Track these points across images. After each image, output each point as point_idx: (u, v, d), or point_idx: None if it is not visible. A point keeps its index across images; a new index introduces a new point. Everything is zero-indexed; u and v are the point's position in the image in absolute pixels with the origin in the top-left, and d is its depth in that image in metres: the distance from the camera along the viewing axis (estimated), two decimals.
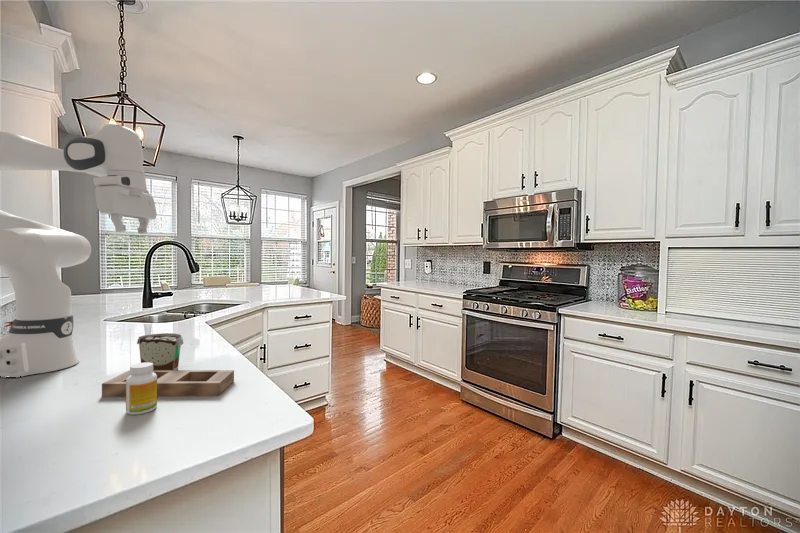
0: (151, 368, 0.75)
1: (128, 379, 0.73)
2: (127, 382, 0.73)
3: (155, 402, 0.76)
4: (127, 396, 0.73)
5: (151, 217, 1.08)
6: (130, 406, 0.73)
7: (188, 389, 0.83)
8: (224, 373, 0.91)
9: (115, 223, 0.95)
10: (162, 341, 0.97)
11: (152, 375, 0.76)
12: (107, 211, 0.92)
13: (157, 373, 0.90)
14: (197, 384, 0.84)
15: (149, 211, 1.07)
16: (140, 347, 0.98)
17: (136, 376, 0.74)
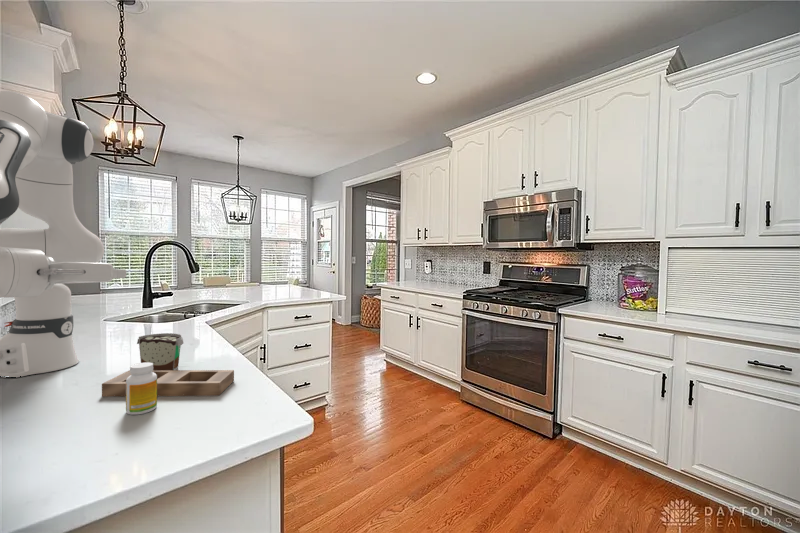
0: (151, 368, 0.75)
1: (128, 379, 0.73)
2: (127, 382, 0.73)
3: (155, 402, 0.76)
4: (127, 396, 0.73)
5: None
6: (130, 406, 0.73)
7: (188, 389, 0.83)
8: (224, 373, 0.91)
9: None
10: (162, 341, 0.97)
11: (152, 375, 0.76)
12: None
13: (157, 373, 0.90)
14: (197, 384, 0.84)
15: None
16: (140, 347, 0.98)
17: (136, 376, 0.74)
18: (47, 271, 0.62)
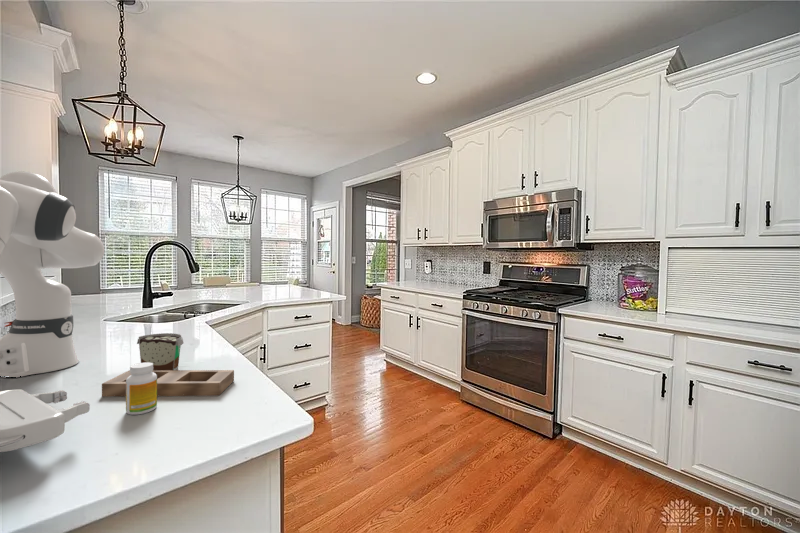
0: (151, 368, 0.75)
1: (128, 379, 0.73)
2: (127, 382, 0.73)
3: (155, 402, 0.76)
4: (127, 396, 0.73)
5: None
6: (130, 406, 0.73)
7: (188, 389, 0.83)
8: (224, 373, 0.91)
9: None
10: (162, 341, 0.97)
11: (152, 375, 0.76)
12: None
13: (157, 373, 0.90)
14: (197, 384, 0.84)
15: None
16: (140, 347, 0.98)
17: (136, 376, 0.74)
18: None
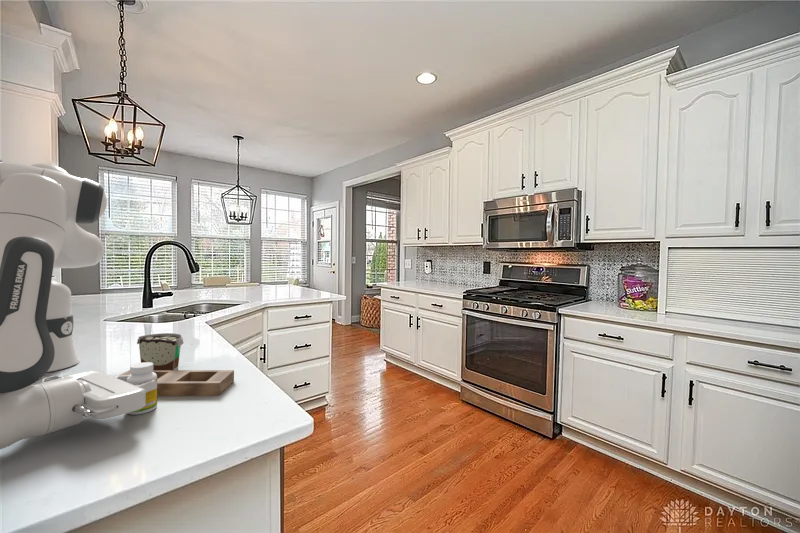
0: (151, 368, 0.75)
1: (128, 379, 0.73)
2: None
3: (155, 402, 0.76)
4: None
5: None
6: None
7: (188, 389, 0.83)
8: (224, 373, 0.91)
9: None
10: (162, 341, 0.97)
11: (153, 375, 0.76)
12: None
13: (157, 373, 0.90)
14: (197, 384, 0.84)
15: None
16: (140, 347, 0.98)
17: (136, 376, 0.74)
18: (81, 413, 0.61)
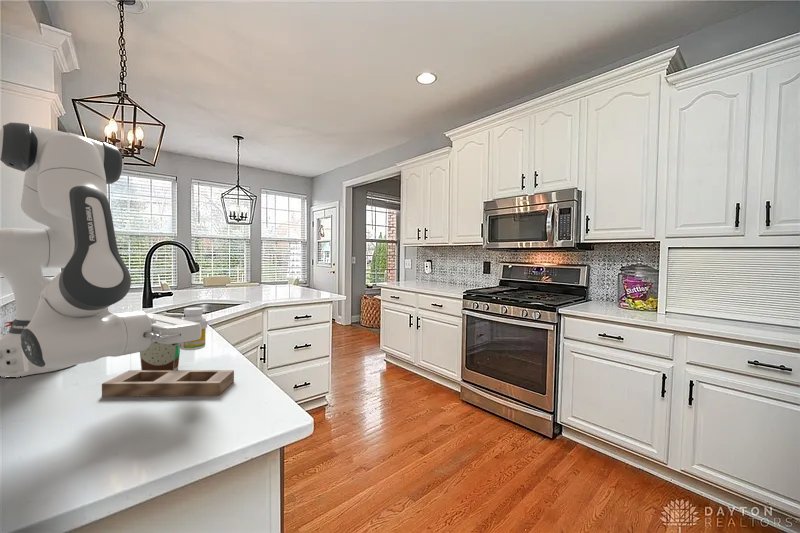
0: (201, 311, 0.86)
1: (182, 319, 0.84)
2: None
3: (204, 341, 0.87)
4: None
5: None
6: (184, 342, 0.84)
7: (188, 389, 0.83)
8: (224, 373, 0.91)
9: None
10: None
11: (202, 318, 0.87)
12: None
13: (157, 373, 0.90)
14: (197, 384, 0.84)
15: None
16: None
17: (189, 317, 0.85)
18: (152, 337, 0.72)
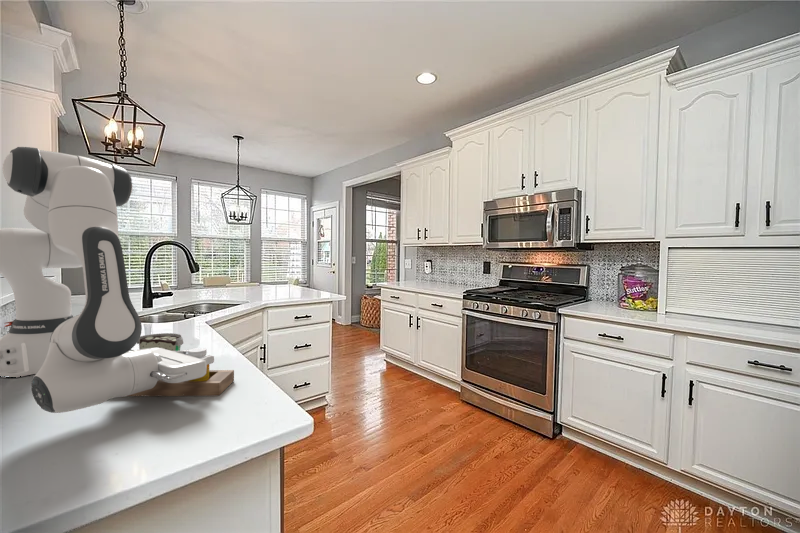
0: (205, 352, 0.88)
1: None
2: None
3: None
4: None
5: None
6: None
7: (188, 389, 0.83)
8: (224, 373, 0.91)
9: None
10: (162, 341, 0.97)
11: None
12: None
13: None
14: (197, 384, 0.84)
15: None
16: (140, 347, 0.98)
17: None
18: (159, 377, 0.73)
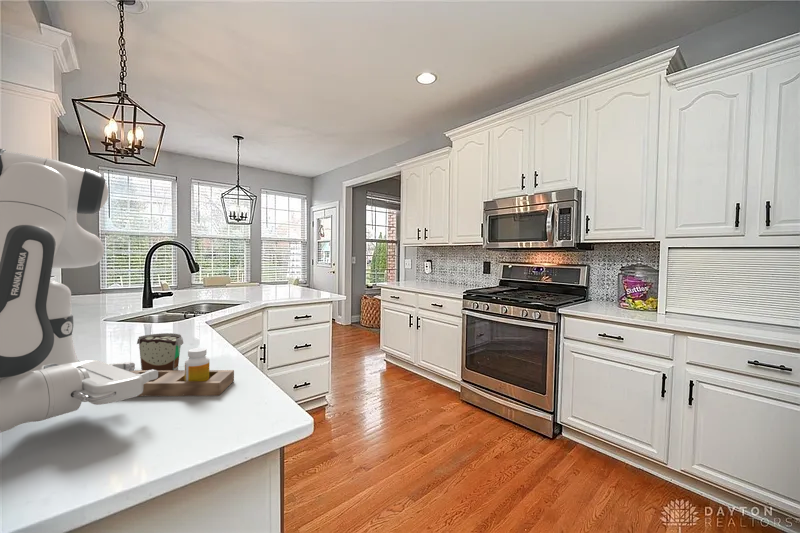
0: (205, 352, 0.88)
1: (187, 361, 0.86)
2: (186, 364, 0.86)
3: None
4: (186, 376, 0.86)
5: None
6: None
7: (188, 389, 0.83)
8: (224, 373, 0.91)
9: None
10: (162, 341, 0.97)
11: (206, 358, 0.88)
12: None
13: None
14: (197, 384, 0.84)
15: None
16: (140, 347, 0.98)
17: (194, 359, 0.86)
18: (79, 398, 0.62)
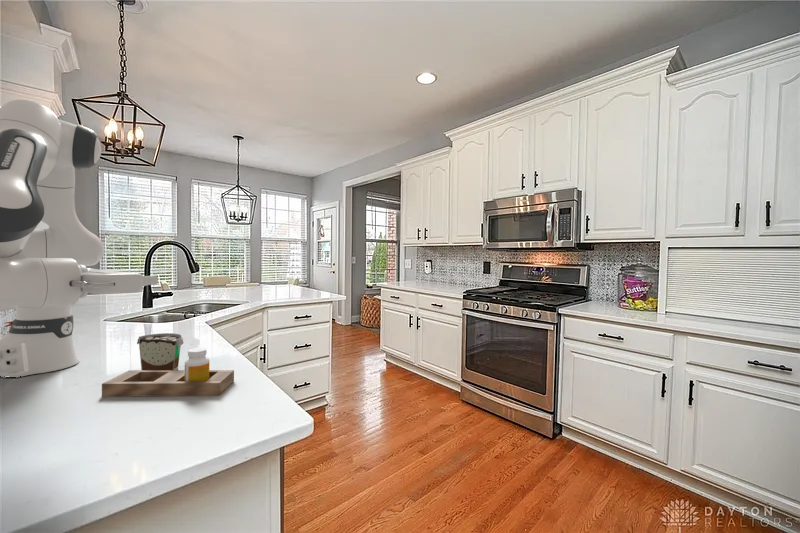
0: (205, 352, 0.88)
1: (187, 361, 0.86)
2: (186, 364, 0.86)
3: None
4: (186, 376, 0.86)
5: None
6: None
7: (188, 389, 0.83)
8: (224, 373, 0.91)
9: None
10: (162, 341, 0.97)
11: (206, 358, 0.88)
12: None
13: (157, 373, 0.90)
14: (197, 384, 0.84)
15: None
16: (140, 347, 0.98)
17: (194, 359, 0.86)
18: (78, 284, 0.61)
